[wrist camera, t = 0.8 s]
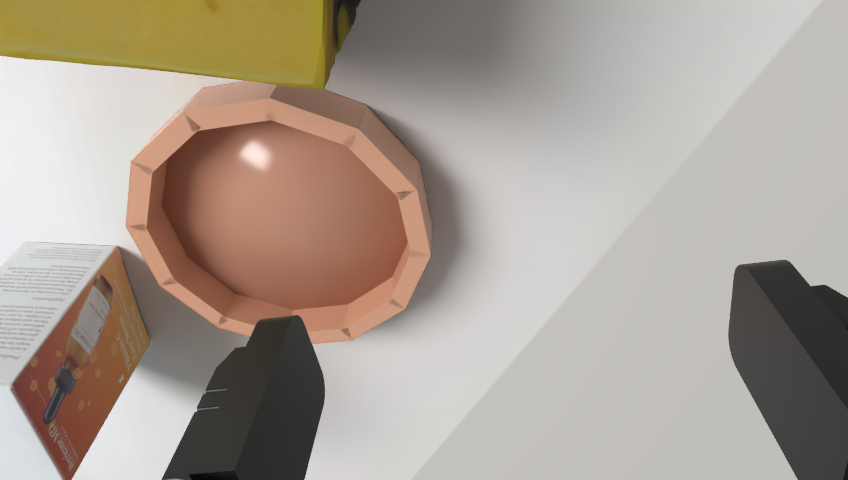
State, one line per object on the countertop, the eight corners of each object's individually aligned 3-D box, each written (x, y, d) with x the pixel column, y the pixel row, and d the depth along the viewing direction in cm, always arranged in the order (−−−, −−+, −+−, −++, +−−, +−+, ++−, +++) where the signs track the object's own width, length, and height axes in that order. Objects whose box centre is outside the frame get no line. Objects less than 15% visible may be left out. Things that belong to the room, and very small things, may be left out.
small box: (153, 340, 39) (70, 490, 31) (68, 336, 39) (-37, 484, 31) (119, 242, 35) (11, 388, 26) (23, 237, 35) (-116, 381, 26)
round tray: (97, 104, 29) (70, 128, 27) (398, 57, 27) (393, 79, 25) (212, 323, 38) (198, 354, 36) (447, 300, 36) (446, 331, 34)
